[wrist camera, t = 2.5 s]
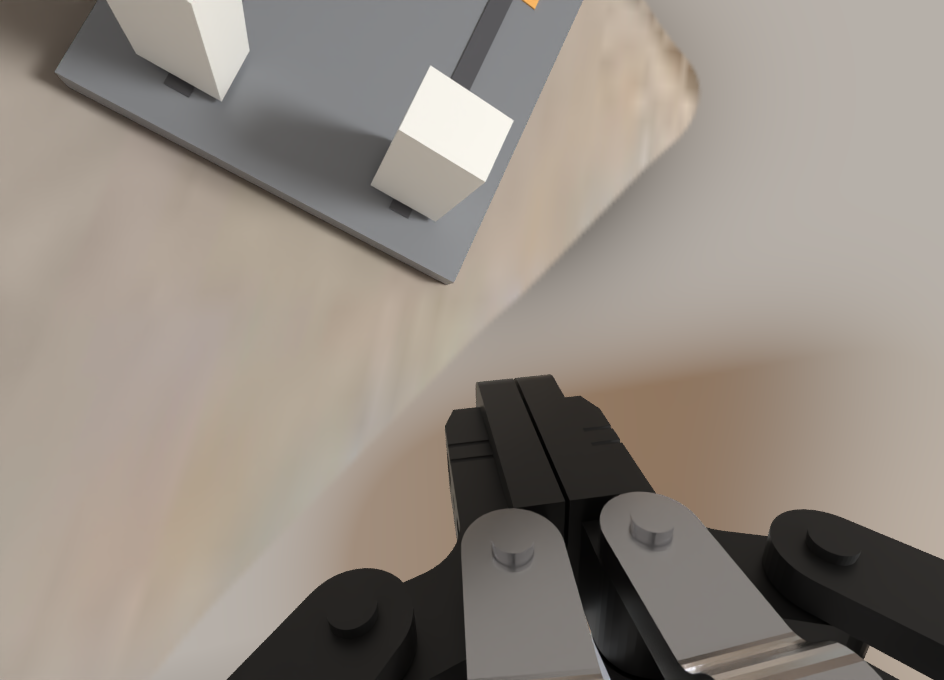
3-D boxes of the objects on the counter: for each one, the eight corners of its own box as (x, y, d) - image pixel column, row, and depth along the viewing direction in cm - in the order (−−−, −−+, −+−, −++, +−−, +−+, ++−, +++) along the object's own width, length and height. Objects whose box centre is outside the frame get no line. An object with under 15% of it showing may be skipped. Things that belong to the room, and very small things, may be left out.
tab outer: (370, 185, 28) (398, 129, 20) (393, 137, 28) (430, 65, 21) (435, 221, 29) (485, 182, 22) (457, 175, 29) (513, 120, 22)
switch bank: (68, 86, 25) (53, 70, 24) (257, -230, 28) (255, -263, 26) (446, 284, 31) (454, 282, 30) (572, 11, 34) (585, -4, 32)
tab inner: (136, 53, 24) (65, -73, 17) (166, 1, 25) (111, -146, 17) (221, 101, 26) (191, 3, 18) (249, 50, 26) (231, -67, 18)
